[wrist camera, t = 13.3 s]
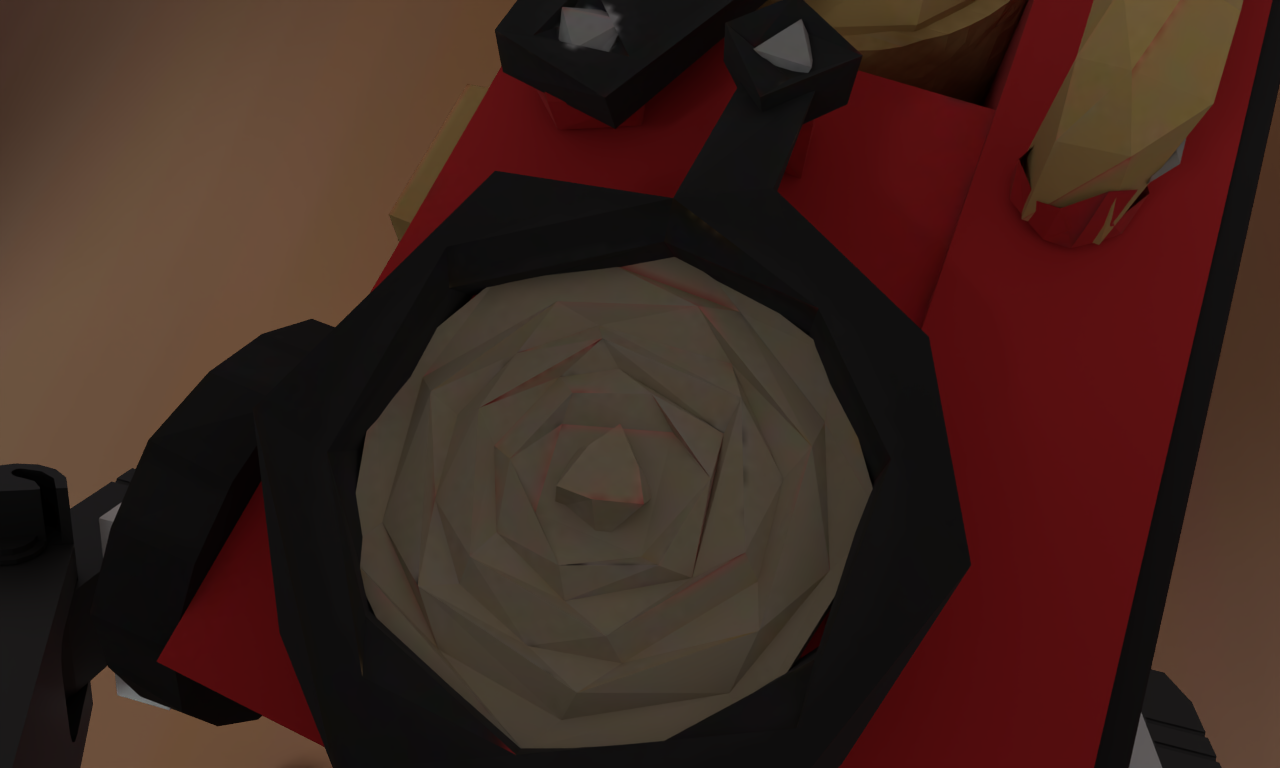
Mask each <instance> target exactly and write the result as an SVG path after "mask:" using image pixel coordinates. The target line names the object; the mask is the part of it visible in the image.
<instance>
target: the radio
mask: <svg viewBox="0 0 1280 768" xmlns="http://www.w3.org/2000/svg"><path fill="white" fill-rule="evenodd" d="M495 33H496V39H497V44H498V49H499V55H500V60H501V65H502V66H501V68H500V70H499V72H498V73H497V75H496V77H495V79H494V80H493V82H492V84H491V85H490V87H489V88H487V87H481V86H476V85H470V84H467V86H466V87H465V89H464V91H463V92H462V94H461V96H460V97H459V99H458V101H457V102H456V104H455V106H454V107H453V109H452V111H451V112H450V114H449V116H448V117H447V119H446V121H445V122H444V124H443V126H442V127H441V129H440V131H439V132H438V134H437V136H436V137H435V139H434V141H433V142H432V144H431V146H430V147H429V149H428V150H427V152H426V154H425V155H424V157H423V159H422V160H421V162H420V164H419V165H418V167H417V169H416V170H415V172H414V174H413V175H412V177H411V179H410V180H409V182H408V184H407V185H406V187H405V189H404V190H403V192H402V194H401V195H400V197H399V199H398V200H397V202H396V204H395V205H394V207H393V209H392V210H391V212H390V214H389V216H390V218H391V221H392V224H393V226H394V229H395V232H396V234H397V237H398V240H399V244H398V246H397V247H396V249H395V251H394V253H393V254H392V256H391V258H390V260H389V261H388V263H387V265H386V266H385V268H384V270H383V272H382V273H381V275H380V277H379V279H378V280H377V282H376V284H375V285H374V287H373V289H372V291H371V292H370V294H369V295H368V296H367V297H366V298H365V299H364V300H363V301H362V302H361V303H360V304H359V305H358V306H357V307H356V308H355V309H354V310H353V311H352V312H351V313H350V314H349V315H348V316H346V317H345V318H344V319H343V320H342V321H341V322H340V323H339V324H338V325H337V326H336V327H332V326H330V325H327V324H324V323H322V322H319V321H316V320H314V319H310V320H306V321H303V322H300V323H297V324H293V325H290V326H287V327H283V328H280V329H277V330H274V331H270V332H267V333H264V334H262V335H260V336H259V337H257V338H256V339H255V340H253V341H252V342H250V343H249V344H248V345H246V346H245V347H243V348H242V349H241V350H239V351H238V352H236V353H235V354H234V355H232V356H231V357H229V358H228V359H227V360H225V361H224V362H222V363H221V364H220V365H218V366H217V367H215V368H214V369H213V370H211V371H210V372H209V373H208V374H207V375H206V376H205V377H204V378H203V379H202V380H201V382H200V383H199V384H198V385H197V386H196V387H195V388H194V389H193V391H192V392H191V393H190V394H189V395H188V396H187V397H186V398H185V400H184V401H183V402H182V403H181V404H180V405H179V406H178V407H177V409H176V410H175V411H174V412H173V413H172V414H171V415H170V416H169V418H168V419H167V420H166V421H165V422H164V423H163V424H162V425H161V427H160V428H159V429H158V430H157V431H156V432H155V433H154V434H153V436H152V437H151V438H150V439H149V440H148V442H147V445H146V447H145V449H144V452H143V454H142V456H141V459H140V461H139V463H138V466H137V468H136V470H135V473H134V475H133V477H132V480H131V482H130V484H129V486H128V489H127V491H126V493H125V496H124V498H123V500H122V503H121V505H120V507H119V510H118V512H117V514H116V517H115V519H114V521H113V523H112V526H111V528H110V532H109V536H108V540H107V545H106V549H105V553H104V557H103V561H102V565H101V569H100V573H99V577H98V582H97V586H96V590H95V594H94V598H93V602H92V606H91V610H90V616H91V619H92V622H93V624H94V627H95V630H96V633H97V636H98V639H99V642H100V645H101V647H102V650H103V653H104V656H105V659H106V662H107V665H108V667H109V668H110V669H111V670H112V671H113V672H114V673H115V674H116V675H118V676H119V677H120V678H121V679H122V680H123V681H124V682H125V683H126V684H127V685H128V686H129V687H130V688H131V689H133V690H134V691H135V692H136V693H137V694H138V695H139V696H140V697H143V698H145V699H148V700H151V701H153V702H156V703H158V704H161V705H164V706H166V707H169V708H171V709H174V710H177V711H179V712H182V713H185V714H187V715H190V716H192V717H195V718H198V719H200V720H203V721H205V722H208V723H211V724H213V725H216V726H222V725H228V724H234V723H240V722H245V721H251V720H257V719H259V718H260V717H261V716H262V715H263V716H265V717H267V718H268V719H270V720H272V721H274V722H276V723H278V724H280V725H282V726H284V727H286V728H288V729H290V730H292V731H294V732H296V733H298V734H300V735H302V736H304V737H306V738H308V739H310V740H312V741H314V742H316V743H318V744H320V745H322V746H323V747H325V749H326V752H327V754H328V757H329V759H330V762H331V764H332V767H333V768H1129V766H1130V761H1131V756H1132V752H1133V747H1134V743H1135V738H1136V734H1137V729H1138V725H1139V720H1140V716H1141V711H1142V706H1143V702H1144V697H1145V693H1146V688H1147V684H1148V679H1149V675H1150V670H1151V666H1152V661H1153V657H1154V652H1155V647H1156V643H1157V638H1158V634H1159V629H1160V625H1161V620H1162V616H1163V611H1164V607H1165V602H1166V597H1167V593H1168V588H1169V584H1170V579H1171V575H1172V570H1173V566H1174V561H1175V557H1176V552H1177V548H1178V543H1179V538H1180V534H1181V529H1182V525H1183V520H1184V516H1185V511H1186V507H1187V502H1188V498H1189V493H1190V488H1191V484H1192V479H1193V475H1194V470H1195V466H1196V461H1197V457H1198V452H1199V448H1200V443H1201V439H1202V434H1203V429H1204V425H1205V420H1206V416H1207V411H1208V407H1209V402H1210V398H1211V393H1212V389H1213V384H1214V379H1215V375H1216V370H1217V366H1218V361H1219V357H1220V352H1221V348H1222V343H1223V339H1224V334H1225V330H1226V325H1227V320H1228V316H1229V311H1230V307H1231V302H1232V298H1233V293H1234V289H1235V284H1236V280H1237V275H1238V271H1239V266H1240V261H1241V257H1242V252H1243V248H1244V243H1245V239H1246V234H1247V230H1248V225H1249V221H1250V216H1251V211H1252V207H1253V202H1254V198H1255V193H1256V189H1257V184H1258V180H1259V175H1260V171H1261V166H1262V162H1263V157H1264V152H1265V148H1266V143H1267V139H1268V134H1269V130H1270V125H1271V121H1272V116H1273V112H1274V107H1275V102H1276V98H1277V93H1278V89H1279V84H1280V0H517V2H516V3H515V4H514V5H513V7H512V8H511V9H510V11H509V12H508V13H507V15H506V16H505V17H504V19H503V20H502V21H501V23H500V24H499V25H498V26H497V28H496V29H495Z"/></svg>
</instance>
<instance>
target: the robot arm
mask: <svg viewBox="0 0 1280 768" xmlns="http://www.w3.org/2000/svg"><path fill="white" fill-rule="evenodd" d="M137 466H138V465H137ZM135 470H136V469H133V468H132V469H130V470H129V471H127V472H126V473H124V474H123V475H121V476H120V477H118V478H117V481H116V482H111V483H109V484H108V485H106V486H104V487H103V488H101V489H100V490H98V491H97V492H95V493H94V494H92V495H91V496H89V497H88V498H86V499H85V500H83V501H82V502H80V503H79V504H77V505H76V506H74V507H73V508H71V509H70V505H69V497H68V488H67V481H66V477H65V476H64V475H62V474H61V473H60V472H58V471H57V470H56V469H52V468H49V467H45V466H41V465H35V464H9V465H1V466H0V768H80V767H81V762H82V757H83V752H84V746H85V741H86V736H87V731H88V726H89V721H90V716H91V711H92V706H93V700H92V692H91V683H90V681H91V680H92V679H93V678H94V677H95V676H96V675H97V674H98V673H100V672H101V671H102V670H103V669H104V668H105V667H106V666H107V662H106V659H105V656H104V653H103V650H102V647H101V645H100V642H99V639H98V636H97V633H96V630H95V627H94V624H93V622H92V619H91V616H90V610H91V606H92V602H93V598H94V594H95V590H96V586H97V582H98V577H99V573H100V569H101V565H102V561H103V557H104V553H105V549H106V545H107V540H108V536H109V532H110V528H111V526H112V523H113V521H114V519H115V517H116V514H117V512H118V510H119V507H120V505H121V503H122V500H123V498H124V496H125V493H126V491H127V489H128V486H129V484H130V482H131V480H132V477H133V475H134V473H135ZM115 678H116V687H117V695H119V696H122V697H126V698H129V699H133V700H136V701H140V702H143V703H147V704H150V705H153V706H157V707H160V708H164V709H167V710H170V709H171V708H169V707H166V706H164V705H161V704H158V703H156V702H153V701H151V700H148V699H145V698H143V697H140V696H139V695H138V694H137V693H136V692H135V691H134V690H133V689H131V688H130V687H129V686H128V685H127V684H126V683H125V682H124V681H123V680H122V679H121V678H120V677H119V676H118V675H116V674H115ZM1129 768H1221V766H1220V763H1218V762H1216V755H1215V752H1214V750H1213V748H1212V746H1211V744H1210V741H1209V739H1208V738H1206V737H1205V730H1204V728H1203V726H1202V724H1201V722H1200V719H1199V717H1198V715H1197V713H1196V711H1195V708H1194V706H1193V704H1192V702H1191V701H1190V700H1189V699H1188V698H1187V697H1186V696H1185V695H1184V694H1183V693H1182V691H1181V690H1180V689H1179V688H1178V687H1177V686H1176V685H1175V684H1174V683H1173V682H1172V681H1171V680H1170V679H1169V678H1168V676H1167V675H1166V674H1165V673H1163V672H1159V671H1155V670H1150V675H1149V679H1148V684H1147V688H1146V693H1145V697H1144V702H1143V706H1142V711H1141V716H1140V720H1139V725H1138V729H1137V734H1136V738H1135V743H1134V747H1133V752H1132V756H1131V761H1130V766H1129Z"/></svg>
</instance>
